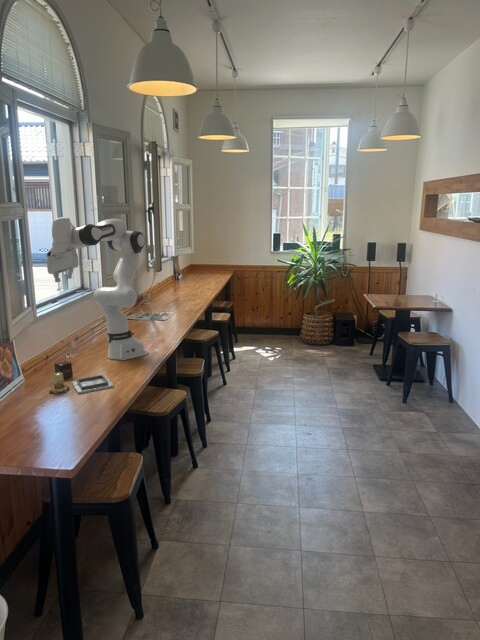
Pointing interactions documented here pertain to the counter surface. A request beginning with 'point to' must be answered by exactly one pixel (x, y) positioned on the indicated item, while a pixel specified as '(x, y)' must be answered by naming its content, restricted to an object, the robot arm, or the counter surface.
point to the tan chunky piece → (58, 384)
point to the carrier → (92, 384)
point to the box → (64, 368)
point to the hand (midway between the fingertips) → (63, 280)
